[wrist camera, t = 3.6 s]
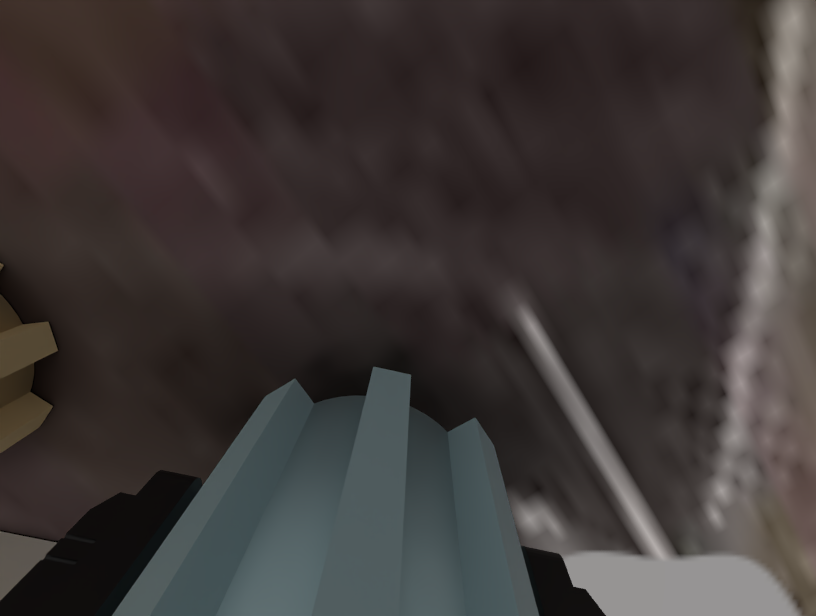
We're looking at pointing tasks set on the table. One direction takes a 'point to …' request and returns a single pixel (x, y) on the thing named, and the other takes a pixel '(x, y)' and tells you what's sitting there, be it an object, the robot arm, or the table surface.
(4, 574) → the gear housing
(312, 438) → the teal gear
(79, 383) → the table surface
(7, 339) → the amber gear
